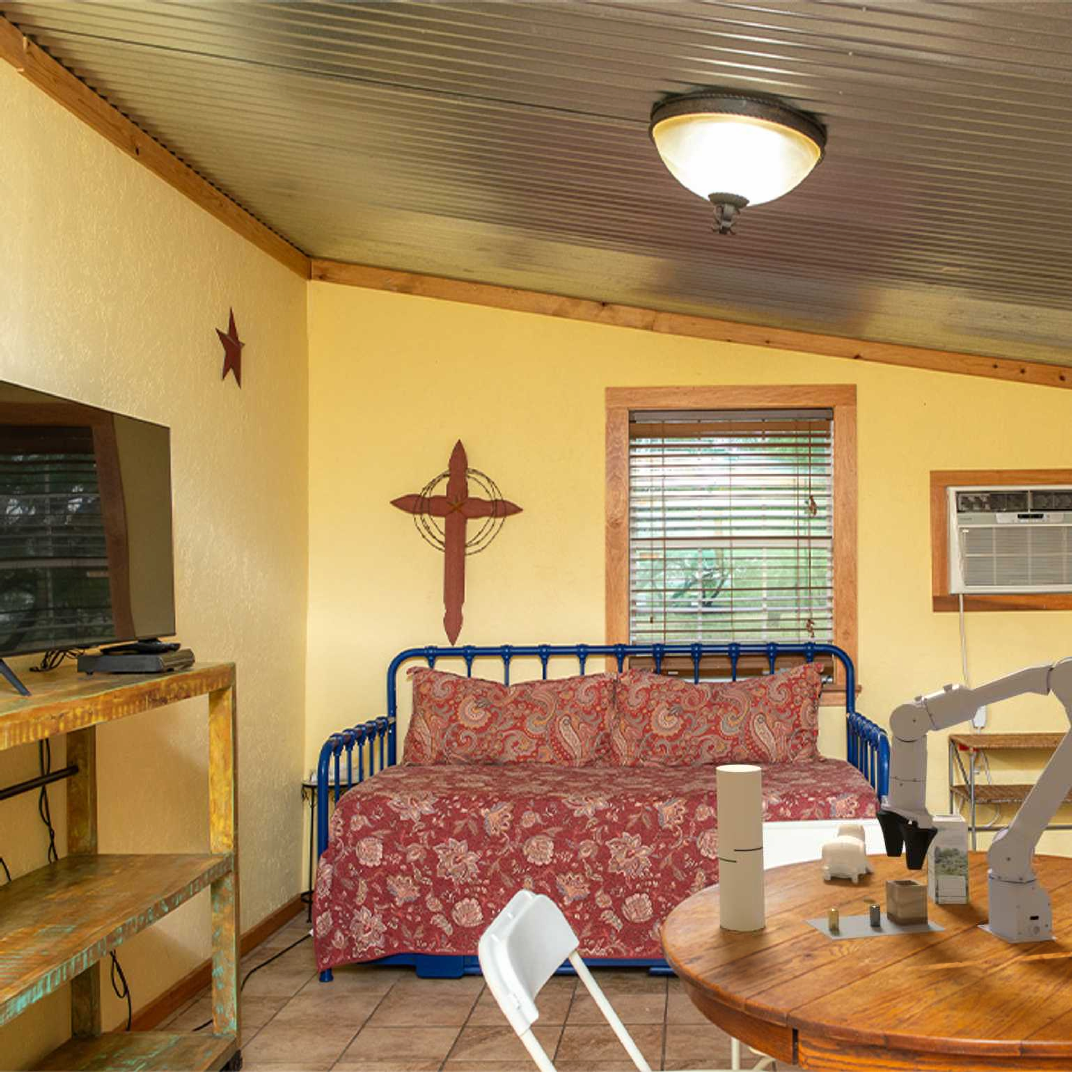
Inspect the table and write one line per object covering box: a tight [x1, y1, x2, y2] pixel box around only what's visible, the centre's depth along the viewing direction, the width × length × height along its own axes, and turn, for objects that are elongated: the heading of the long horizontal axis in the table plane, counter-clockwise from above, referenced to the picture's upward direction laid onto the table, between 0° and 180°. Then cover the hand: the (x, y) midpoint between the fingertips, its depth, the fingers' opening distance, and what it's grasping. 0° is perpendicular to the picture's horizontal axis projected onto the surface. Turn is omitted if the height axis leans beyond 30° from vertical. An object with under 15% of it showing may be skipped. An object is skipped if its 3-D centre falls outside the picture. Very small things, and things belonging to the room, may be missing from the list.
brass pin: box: [827, 908, 840, 931], centre depth 192 cm, size 2×2×4 cm
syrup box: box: [926, 813, 970, 905], centre depth 208 cm, size 6×6×14 cm
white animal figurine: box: [821, 821, 875, 884], centre depth 229 cm, size 9×8×15 cm
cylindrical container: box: [715, 764, 766, 932], centre depth 198 cm, size 7×7×25 cm
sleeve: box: [885, 878, 929, 926], centre depth 196 cm, size 5×5×6 cm
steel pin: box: [869, 904, 881, 927], centre depth 193 cm, size 2×2×4 cm
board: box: [802, 912, 948, 941], centre depth 194 cm, size 11×19×1 cm, turn 102°
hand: (903, 862), depth 197 cm, fingers open, 7 cm apart
